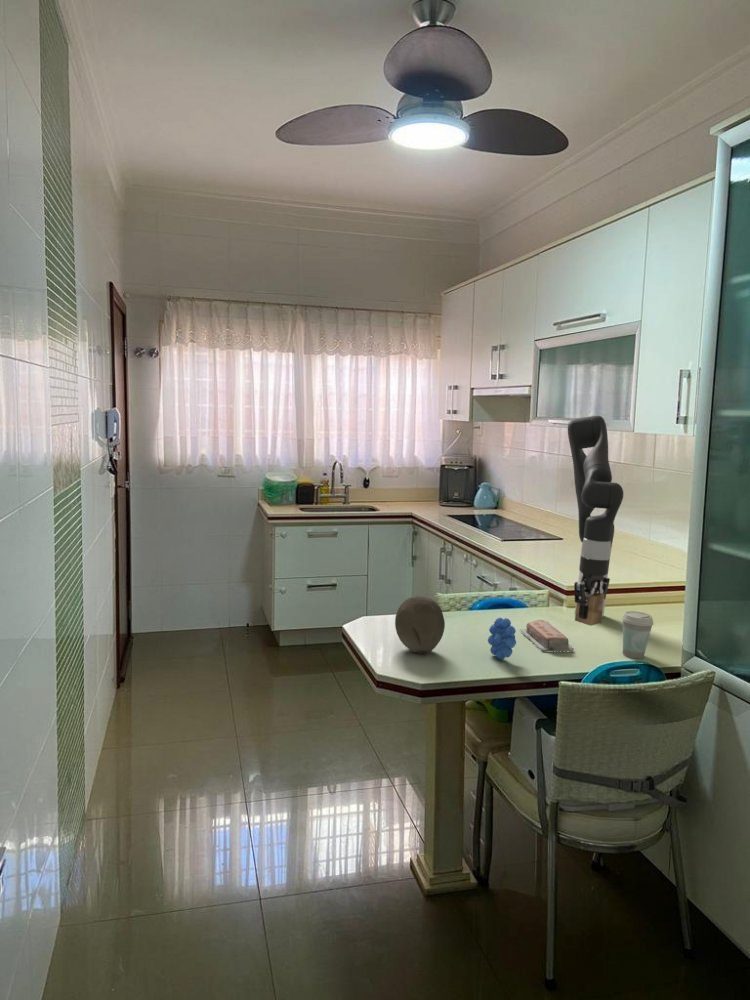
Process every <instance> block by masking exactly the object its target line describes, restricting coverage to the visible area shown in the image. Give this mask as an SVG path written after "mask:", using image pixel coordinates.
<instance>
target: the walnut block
mask: <svg viewBox="0 0 750 1000" xmlns="http://www.w3.org/2000/svg"><path fill="white" fill-rule="evenodd" d="M585 593H586V594H589V593H587V592H585ZM579 598H580V596H579ZM586 598H587V597H586V596H585V601H586ZM603 602H604V594H599V593H596V592H594V594H593V596H591V598H590V599H589V604H588V614H587V619H582V618H579V607H580V604H579V603H577V605H576V604H575V607H576V614H575V613H574V614H575V616H574V622H575V621H576V622H578V623H581V624H585V625H586V626H589V627H590V626H596V625H598V624H601V623H602V618H603V617H602V611H603Z"/></svg>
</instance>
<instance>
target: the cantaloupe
mask: <svg viewBox="0 0 750 1000" xmlns="http://www.w3.org/2000/svg"><path fill="white" fill-rule="evenodd" d="M394 618H395V620H394V621H395V623H394V625H395V626H394V627H395V631H396V634H397V636H398V640H400V642H401V643H402V645H404V647H406V648H407V649H408V650H409V651H411V652H413V653H417V654H426V653H429V652H432V651H433V650H434V649H435V648H436V647H437V646H438V644H439V643H440V642H441V640H442V637H443V635H444V633H445V626H446V624H445V623H446V622H445V617H444V614H443V611H442V609H441V607H440V605H439V603H438V602H437V601H436V600H434V598H433V599H432V598H430V597H425V596H419V595H417V596H412V597H408V598H407V599H405V600H403V602H402V603H401V604H400V605H399V607H398V608H397V611H396V615H395V617H394Z"/></svg>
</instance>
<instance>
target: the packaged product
mask: <svg viewBox="0 0 750 1000" xmlns="http://www.w3.org/2000/svg"><path fill="white" fill-rule="evenodd" d="M520 631H521V632H522V633H523V634H524V637H525V636H526V637H527V638H528V639H530V640H529V642H530V643H531V642H533V643H534V644H535V645H536V646H537V647H538V648H539V649H540V650H541V651H540V652H542V651H553V652H552V653H574V651H575V650H574V649H575V648H574V647H573V646H572V645H570V644H569V641H570V640H569V638H568V637H567V636H566V635H564V633H562V632H560V631H559V630H558V629H557V628H556V627H554V626H553V625H552V624H551V623H549V622H548V621H546V620H543V619H538V620H534V621H530V622H527V623H526V627H525V628H523V629H519V632H520ZM521 632H520V633H521ZM522 633H521V634H522ZM523 634H522V635H523ZM526 637H525V638H526ZM527 638H526V639H527ZM528 639H527V640H528ZM533 643H532V644H533ZM534 644H533V645H534ZM535 645H534V646H535ZM536 646H535V647H536ZM537 647H536V648H537ZM538 648H537V649H538ZM539 649H538V650H539ZM554 651H556V652H554ZM557 651H558V652H557ZM560 651H561V652H560ZM564 651H565V652H564ZM567 651H569V652H567Z"/></svg>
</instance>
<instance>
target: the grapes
mask: <svg viewBox="0 0 750 1000" xmlns="http://www.w3.org/2000/svg"><path fill="white" fill-rule="evenodd" d="M488 630H489V633H490V635H489V636H488V639H487V642H488V644H489V645H490V646H491V647H490V649H489V651H490V653H491V654H492V656H493V655H494V656H495V657H496V659H497V660H499V659H500V661H503V660H504V659H506V658H510V657H511V655H512V654H513V648H515V646H516V645H517V641H516V629H515V626H513V625H512V621H511V620H510V619H509V618H507V617H506V618H505V617H504V618H502V617H497V618H496V619H495V621H494V623H493V624H491V625H490V627H489V629H488Z"/></svg>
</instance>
